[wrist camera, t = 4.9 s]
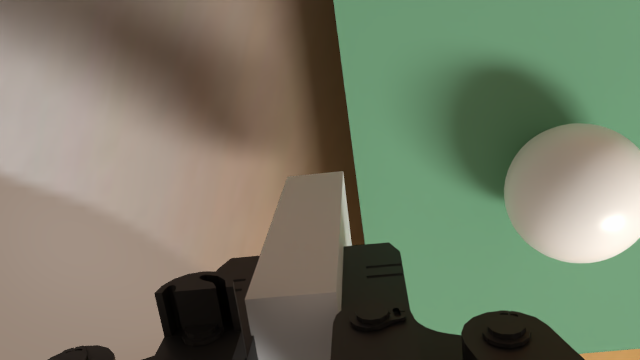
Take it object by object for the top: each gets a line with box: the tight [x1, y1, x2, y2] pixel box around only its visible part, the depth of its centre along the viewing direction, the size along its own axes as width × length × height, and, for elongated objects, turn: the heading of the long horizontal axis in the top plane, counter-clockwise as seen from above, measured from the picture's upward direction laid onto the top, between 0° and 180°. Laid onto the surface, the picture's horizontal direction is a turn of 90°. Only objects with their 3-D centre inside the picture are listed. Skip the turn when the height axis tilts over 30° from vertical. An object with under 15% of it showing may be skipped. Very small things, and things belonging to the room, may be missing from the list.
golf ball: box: [504, 123, 640, 263], centre depth 15 cm, size 4×4×4 cm
